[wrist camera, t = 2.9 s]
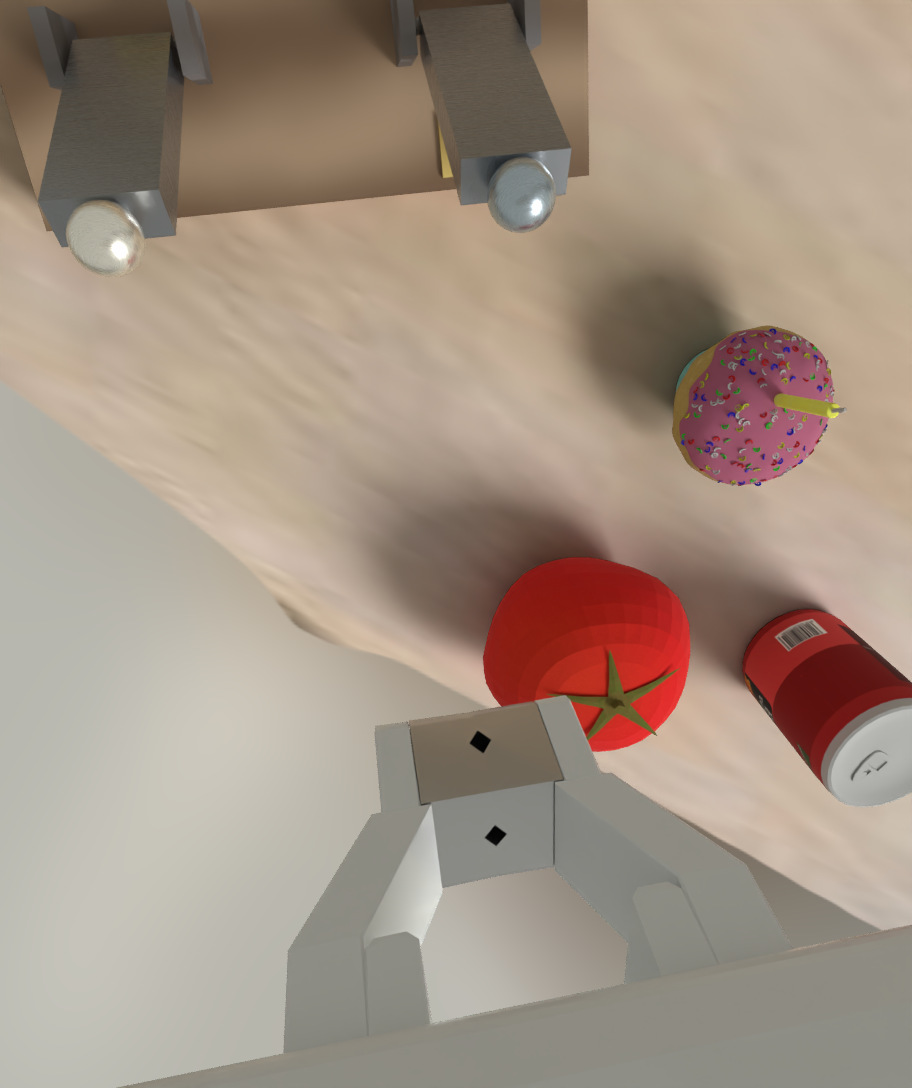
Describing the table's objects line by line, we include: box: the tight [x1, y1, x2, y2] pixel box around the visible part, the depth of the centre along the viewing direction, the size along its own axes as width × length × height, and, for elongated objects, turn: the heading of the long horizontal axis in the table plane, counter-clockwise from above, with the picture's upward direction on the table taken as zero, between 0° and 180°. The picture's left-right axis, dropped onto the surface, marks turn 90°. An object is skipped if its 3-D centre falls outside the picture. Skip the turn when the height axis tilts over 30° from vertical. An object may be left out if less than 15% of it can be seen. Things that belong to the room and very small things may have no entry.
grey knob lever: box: [418, 3, 572, 233], centre depth 26 cm, size 2×4×12 cm
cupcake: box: [672, 326, 847, 486], centre depth 38 cm, size 9×8×12 cm
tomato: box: [483, 557, 690, 752], centre depth 44 cm, size 11×12×10 cm
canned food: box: [743, 609, 912, 807], centre depth 48 cm, size 8×8×11 cm
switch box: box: [0, 0, 589, 231], centre depth 30 cm, size 12×24×7 cm, turn 95°
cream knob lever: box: [38, 32, 184, 277], centre depth 25 cm, size 2×4×12 cm
